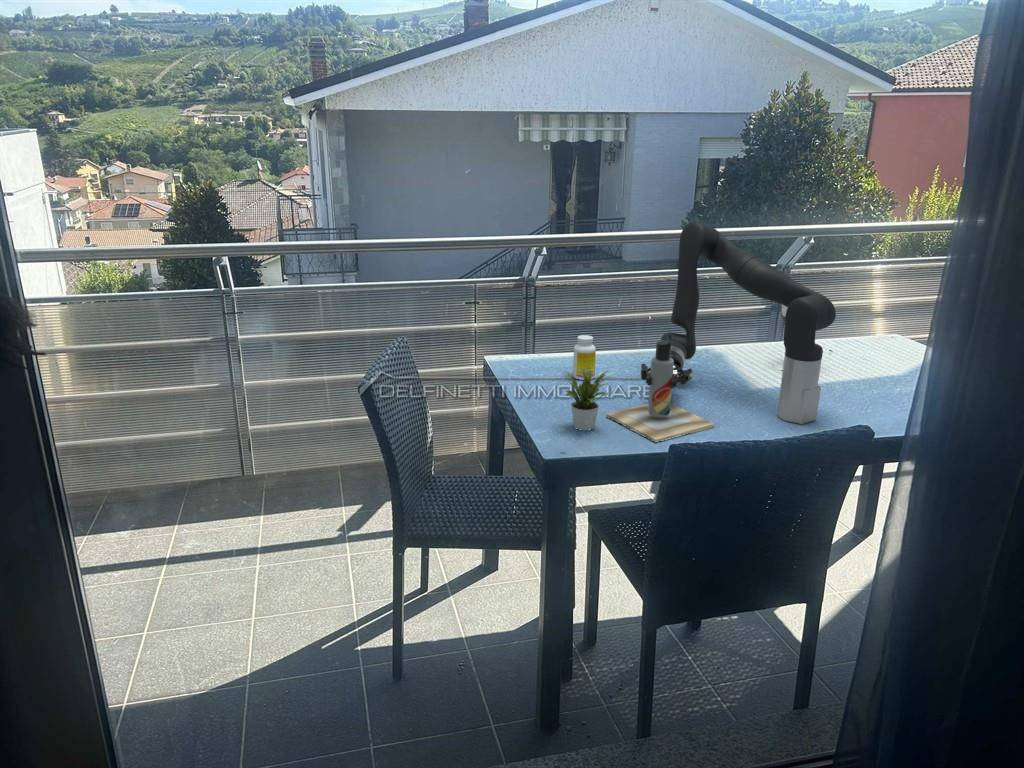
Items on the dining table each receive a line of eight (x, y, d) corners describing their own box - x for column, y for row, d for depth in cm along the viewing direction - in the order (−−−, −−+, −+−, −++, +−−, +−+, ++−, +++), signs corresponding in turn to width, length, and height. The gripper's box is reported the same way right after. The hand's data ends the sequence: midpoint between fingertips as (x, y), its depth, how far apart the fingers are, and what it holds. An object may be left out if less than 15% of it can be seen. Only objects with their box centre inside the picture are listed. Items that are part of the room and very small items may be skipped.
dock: (714, 427, 206) (714, 423, 205) (655, 443, 196) (656, 439, 195) (662, 403, 222) (662, 399, 221) (605, 417, 212) (606, 413, 211)
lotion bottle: (669, 418, 205) (675, 345, 198) (647, 416, 206) (652, 344, 199) (670, 410, 210) (675, 338, 203) (648, 408, 211) (653, 337, 204)
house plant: (623, 436, 200) (627, 375, 194) (572, 442, 196) (574, 380, 190) (602, 416, 212) (604, 358, 207) (553, 421, 209) (555, 362, 203)
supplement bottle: (598, 379, 240) (600, 339, 236) (579, 382, 238) (580, 341, 233) (588, 372, 246) (589, 333, 242) (569, 375, 244) (570, 335, 239)
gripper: (644, 347, 218) (633, 366, 203) (697, 352, 214) (690, 372, 199) (643, 372, 221) (632, 393, 206) (695, 378, 217) (687, 400, 202)
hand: (660, 383), depth 202 cm, fingers closed on lotion bottle, 5 cm apart
